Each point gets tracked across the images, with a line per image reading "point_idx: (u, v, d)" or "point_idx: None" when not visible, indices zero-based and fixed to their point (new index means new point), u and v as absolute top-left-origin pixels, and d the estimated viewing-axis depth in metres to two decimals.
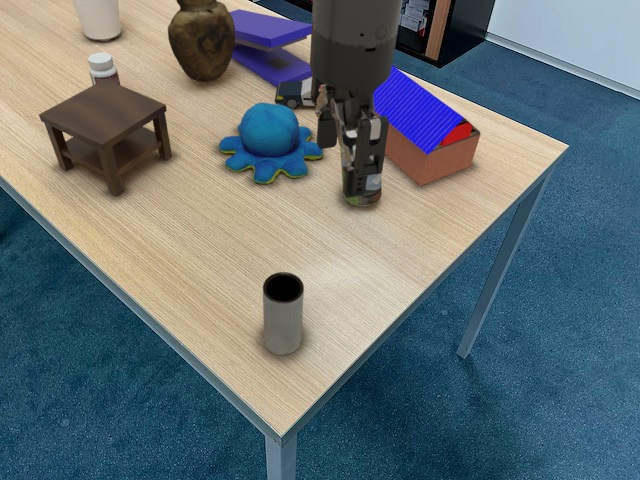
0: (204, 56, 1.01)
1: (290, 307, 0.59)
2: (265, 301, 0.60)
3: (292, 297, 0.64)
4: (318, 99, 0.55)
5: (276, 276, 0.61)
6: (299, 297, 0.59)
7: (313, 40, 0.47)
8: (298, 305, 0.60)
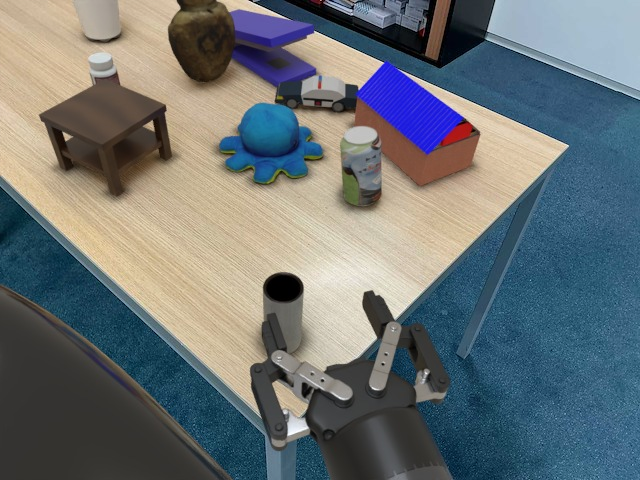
0: (204, 56, 1.01)
1: (290, 307, 0.59)
2: (265, 301, 0.60)
3: (292, 297, 0.64)
4: (390, 353, 0.41)
5: (276, 276, 0.61)
6: (299, 297, 0.59)
7: (400, 454, 0.34)
8: (298, 305, 0.60)
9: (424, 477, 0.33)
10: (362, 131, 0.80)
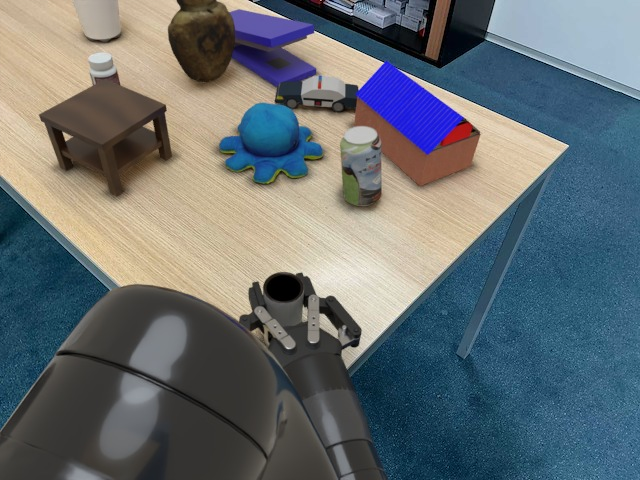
0: (204, 56, 1.01)
1: (291, 307, 0.59)
2: (265, 301, 0.60)
3: (292, 297, 0.64)
4: (316, 316, 0.58)
5: (276, 276, 0.61)
6: (299, 297, 0.59)
7: (321, 381, 0.50)
8: (298, 305, 0.60)
9: (335, 395, 0.50)
10: (362, 131, 0.80)
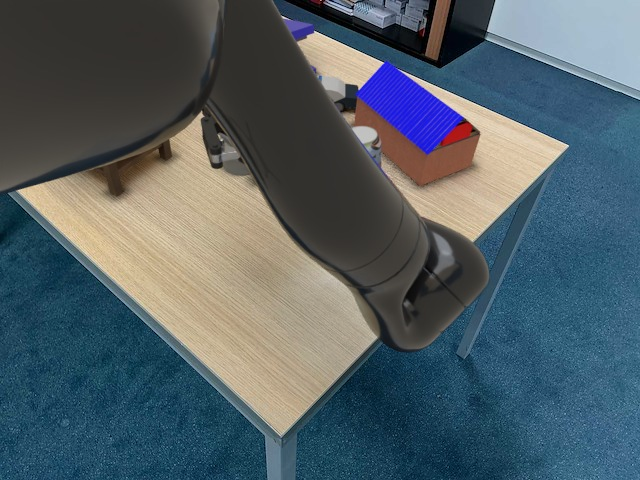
0: None
1: None
2: None
3: None
4: None
5: None
6: None
7: None
8: None
9: None
10: (362, 131, 0.80)
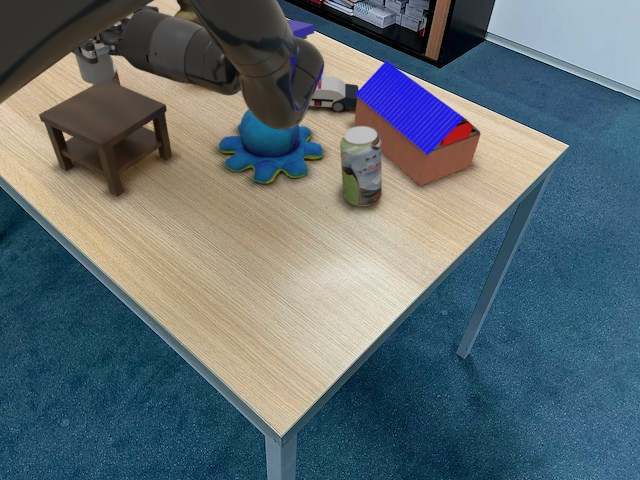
0: None
1: None
2: None
3: None
4: None
5: None
6: None
7: (158, 16, 0.66)
8: None
9: (174, 17, 0.66)
10: (362, 131, 0.80)
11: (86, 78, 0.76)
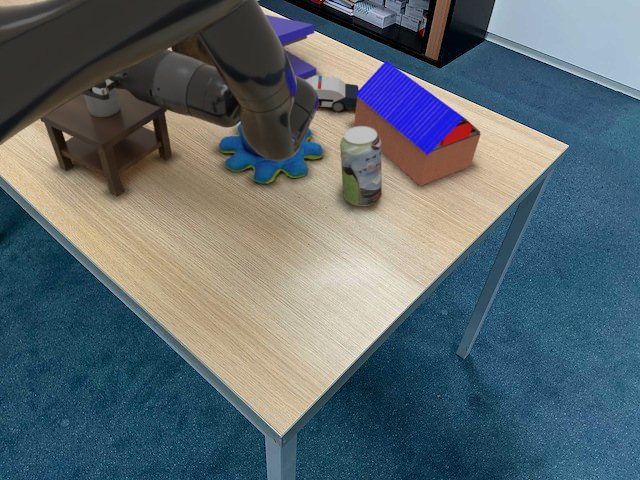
0: (204, 56, 1.01)
1: None
2: None
3: None
4: None
5: None
6: None
7: (161, 52, 0.70)
8: None
9: (176, 53, 0.70)
10: (362, 131, 0.80)
11: (93, 112, 0.80)
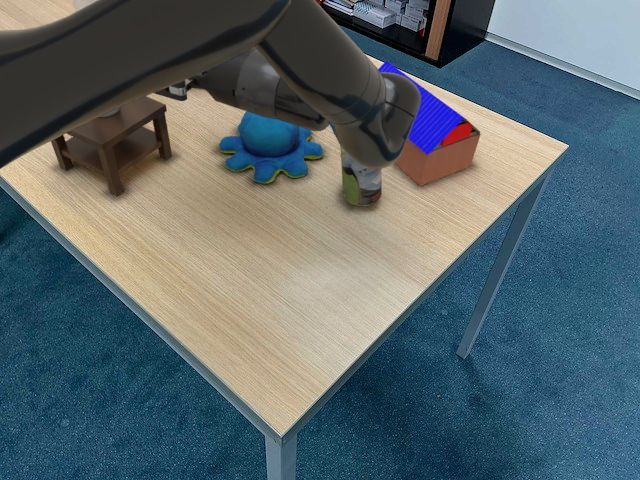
0: None
1: None
2: None
3: None
4: None
5: None
6: None
7: None
8: None
9: None
10: None
11: None
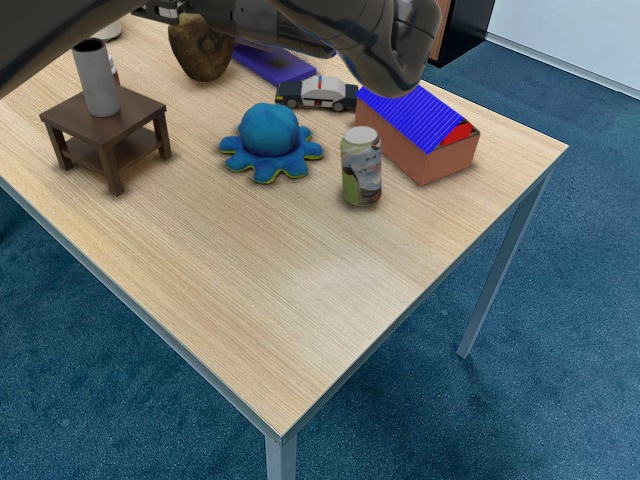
0: (204, 56, 1.01)
1: (103, 54, 0.75)
2: (81, 59, 0.74)
3: None
4: None
5: None
6: (105, 44, 0.75)
7: None
8: (107, 53, 0.76)
9: None
10: (362, 131, 0.80)
11: (93, 112, 0.80)
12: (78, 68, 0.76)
